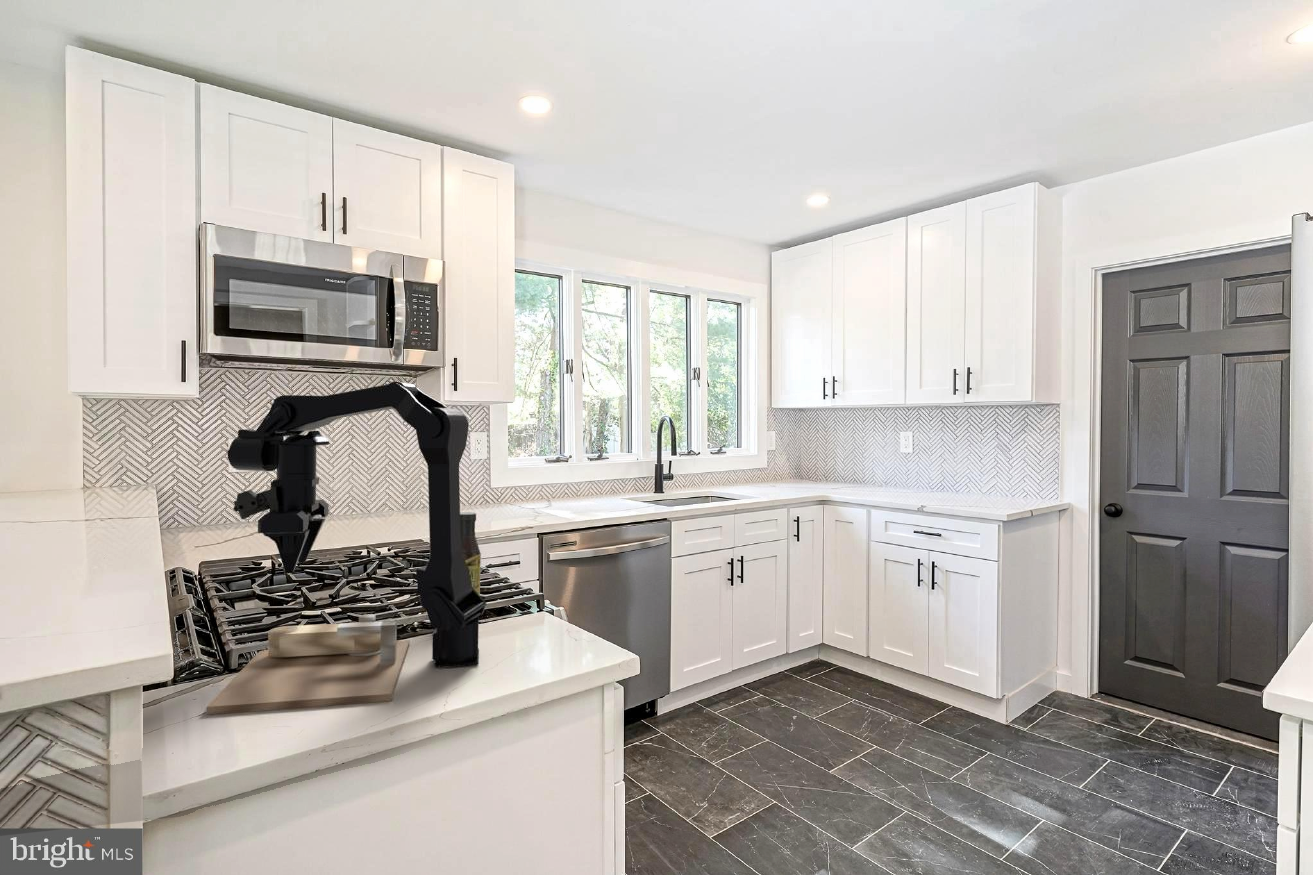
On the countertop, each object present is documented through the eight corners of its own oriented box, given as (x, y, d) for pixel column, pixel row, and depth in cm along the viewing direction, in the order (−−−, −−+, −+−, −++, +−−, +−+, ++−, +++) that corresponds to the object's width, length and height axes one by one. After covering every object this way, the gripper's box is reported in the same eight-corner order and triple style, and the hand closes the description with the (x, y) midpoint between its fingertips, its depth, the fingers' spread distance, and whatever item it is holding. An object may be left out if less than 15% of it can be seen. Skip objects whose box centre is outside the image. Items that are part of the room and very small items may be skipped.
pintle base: (409, 645, 112) (410, 604, 111) (391, 700, 90) (392, 649, 90) (262, 654, 106) (263, 610, 106) (206, 714, 85) (206, 660, 85)
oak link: (385, 641, 109) (386, 620, 109) (381, 652, 104) (381, 630, 104) (273, 647, 105) (274, 625, 105) (263, 659, 100) (263, 636, 100)
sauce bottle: (469, 621, 125) (471, 516, 125) (439, 619, 126) (440, 514, 126) (485, 612, 132) (487, 511, 131) (456, 609, 133) (457, 510, 132)
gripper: (259, 467, 116) (258, 557, 117) (219, 477, 98) (218, 583, 99) (329, 468, 119) (328, 555, 119) (302, 478, 101) (301, 580, 101)
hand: (295, 567), depth 110 cm, fingers open, 7 cm apart
